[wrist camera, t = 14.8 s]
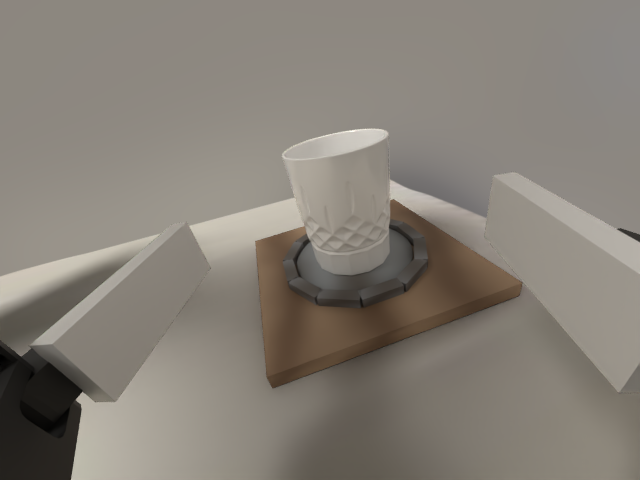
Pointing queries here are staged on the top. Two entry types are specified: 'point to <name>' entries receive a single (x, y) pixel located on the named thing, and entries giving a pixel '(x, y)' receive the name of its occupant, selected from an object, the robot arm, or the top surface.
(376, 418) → the top surface
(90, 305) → the robot arm
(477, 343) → the top surface
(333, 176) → the white cup
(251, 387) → the top surface
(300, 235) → the coaster board
